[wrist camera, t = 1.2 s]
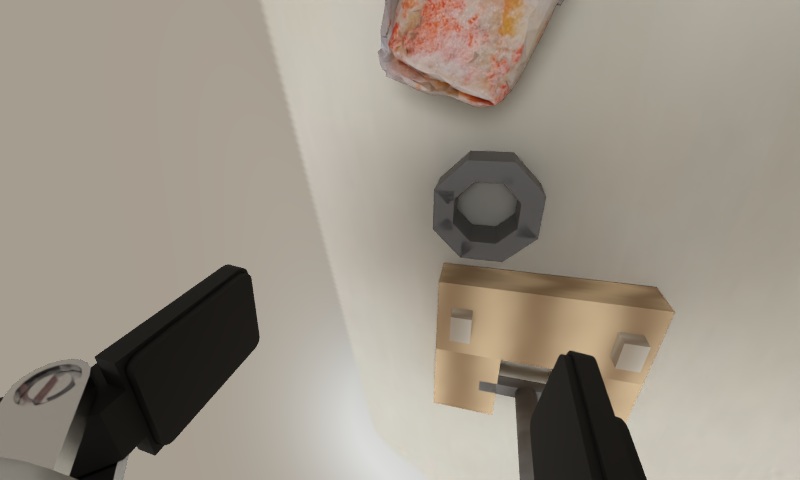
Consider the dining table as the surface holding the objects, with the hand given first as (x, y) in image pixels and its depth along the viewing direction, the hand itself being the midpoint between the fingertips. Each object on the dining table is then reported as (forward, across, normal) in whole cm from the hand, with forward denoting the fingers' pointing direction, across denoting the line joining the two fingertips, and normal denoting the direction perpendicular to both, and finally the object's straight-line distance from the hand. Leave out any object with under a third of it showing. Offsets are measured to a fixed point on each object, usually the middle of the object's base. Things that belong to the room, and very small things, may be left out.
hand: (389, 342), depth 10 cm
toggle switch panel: (+18, -9, +14) cm, 24 cm away
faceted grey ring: (+18, -3, +1) cm, 18 cm away
